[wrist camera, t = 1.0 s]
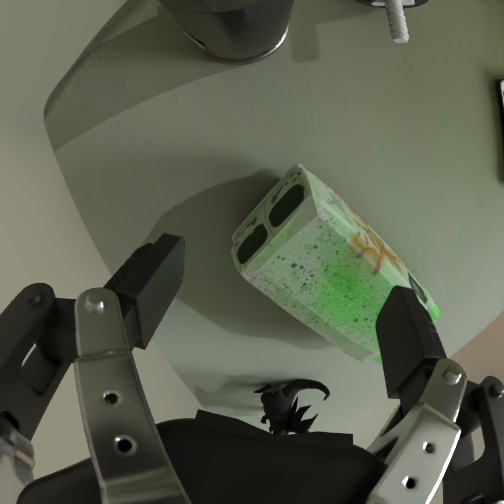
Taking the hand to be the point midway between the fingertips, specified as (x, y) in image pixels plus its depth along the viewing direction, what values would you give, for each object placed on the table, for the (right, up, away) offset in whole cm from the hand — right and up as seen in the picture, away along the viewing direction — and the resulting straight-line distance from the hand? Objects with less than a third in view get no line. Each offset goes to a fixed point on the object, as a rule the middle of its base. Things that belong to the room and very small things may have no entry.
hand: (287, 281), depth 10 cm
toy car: (+9, 0, +22) cm, 24 cm away
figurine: (+4, -22, +33) cm, 40 cm away
